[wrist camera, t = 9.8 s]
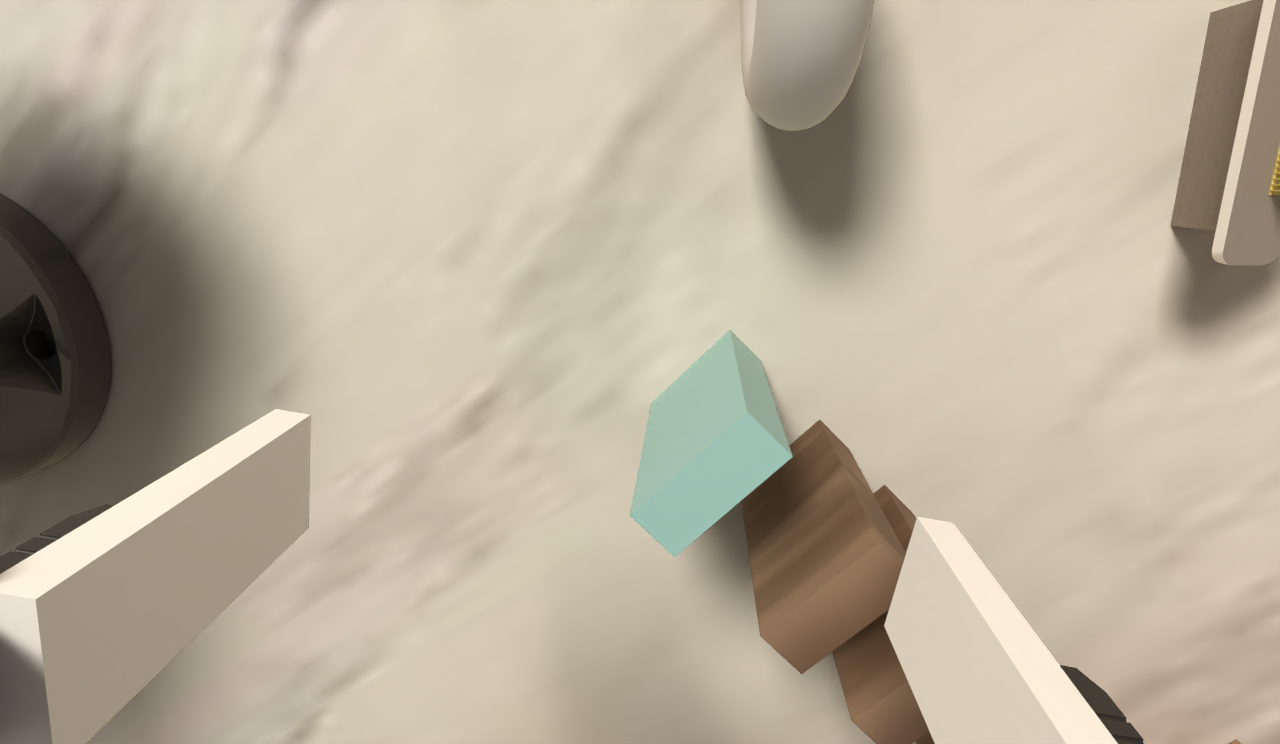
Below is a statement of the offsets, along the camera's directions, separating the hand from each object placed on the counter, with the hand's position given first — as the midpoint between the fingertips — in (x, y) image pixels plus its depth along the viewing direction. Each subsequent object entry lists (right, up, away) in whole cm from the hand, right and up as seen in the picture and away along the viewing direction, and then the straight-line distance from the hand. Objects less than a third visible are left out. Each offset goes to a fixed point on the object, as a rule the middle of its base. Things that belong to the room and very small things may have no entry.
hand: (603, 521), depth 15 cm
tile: (+4, +3, +17) cm, 18 cm away
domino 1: (+8, -1, +18) cm, 20 cm away
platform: (+23, +13, +13) cm, 30 cm away
